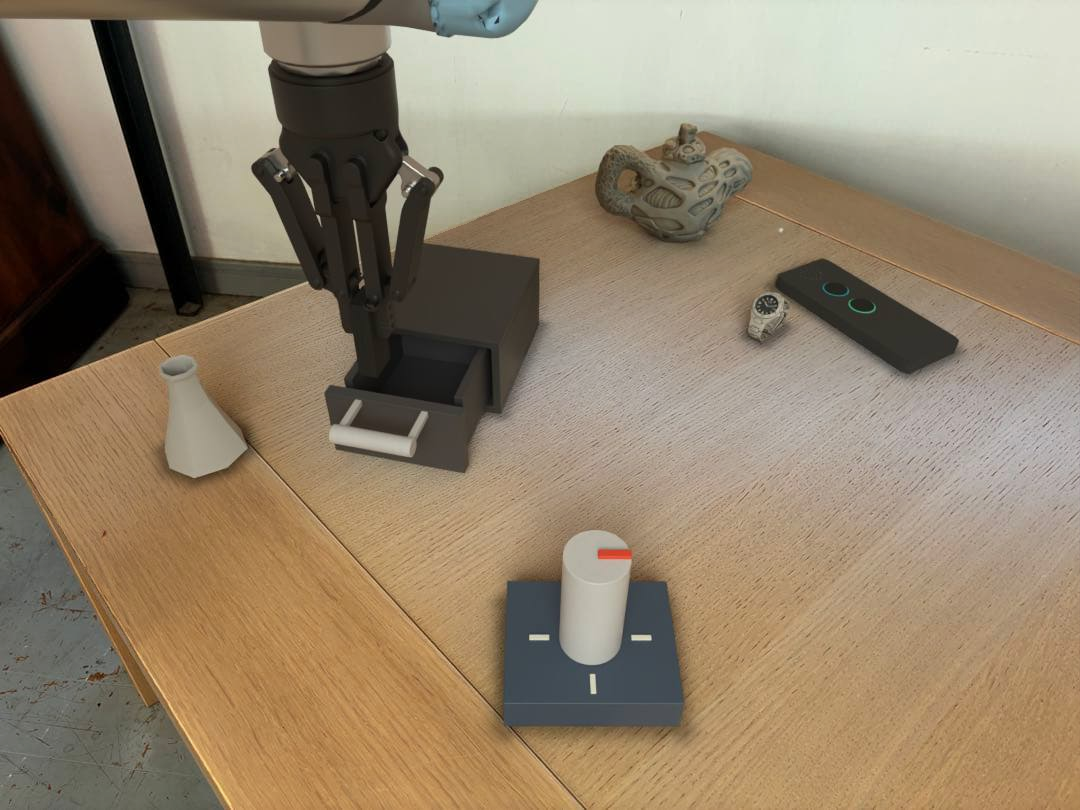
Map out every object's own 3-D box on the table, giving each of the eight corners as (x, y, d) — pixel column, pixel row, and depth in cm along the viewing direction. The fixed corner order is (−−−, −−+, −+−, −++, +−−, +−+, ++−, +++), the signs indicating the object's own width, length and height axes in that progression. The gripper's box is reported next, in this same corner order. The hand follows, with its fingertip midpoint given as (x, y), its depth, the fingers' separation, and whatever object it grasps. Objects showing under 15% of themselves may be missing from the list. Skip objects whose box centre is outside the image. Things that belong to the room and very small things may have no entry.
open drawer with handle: (446, 514, 70) (441, 453, 65) (311, 488, 72) (296, 426, 67) (508, 375, 84) (507, 316, 80) (394, 357, 86) (386, 298, 82)
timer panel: (503, 726, 56) (503, 702, 54) (507, 604, 64) (507, 579, 62) (679, 726, 57) (685, 702, 55) (662, 605, 64) (666, 579, 62)
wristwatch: (738, 337, 91) (746, 299, 88) (768, 314, 95) (777, 277, 91) (766, 351, 89) (775, 312, 86) (795, 327, 93) (805, 289, 90)
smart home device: (825, 255, 101) (963, 338, 88) (821, 268, 103) (957, 351, 90) (774, 273, 98) (910, 362, 85) (771, 286, 99) (905, 375, 86)
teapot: (722, 204, 115) (740, 96, 105) (764, 244, 107) (787, 130, 97) (578, 226, 110) (583, 114, 100) (610, 269, 102) (618, 152, 92)
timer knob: (559, 665, 57) (563, 581, 51) (558, 611, 60) (561, 526, 54) (624, 665, 57) (635, 581, 51) (619, 611, 60) (629, 526, 54)
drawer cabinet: (501, 414, 81) (499, 343, 75) (371, 392, 83) (359, 321, 78) (539, 325, 93) (539, 258, 87) (424, 308, 95) (417, 241, 89)
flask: (262, 450, 77) (238, 365, 70) (190, 490, 73) (157, 404, 66) (221, 414, 81) (195, 330, 74) (151, 451, 77) (116, 365, 70)
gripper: (452, 45, 52) (468, 351, 67) (261, 28, 54) (319, 327, 69) (410, 86, 46) (438, 409, 61) (199, 64, 48) (276, 381, 63)
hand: (375, 365), depth 65 cm, fingers closed
